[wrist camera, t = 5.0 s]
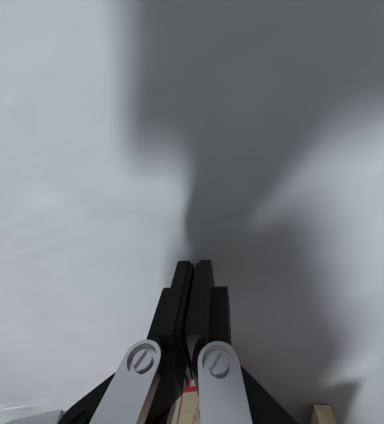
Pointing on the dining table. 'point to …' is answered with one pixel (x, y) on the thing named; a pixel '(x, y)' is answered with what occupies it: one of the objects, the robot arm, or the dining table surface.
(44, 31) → the dining table surface
